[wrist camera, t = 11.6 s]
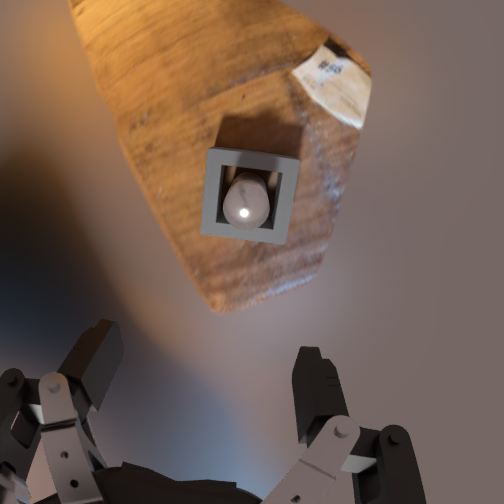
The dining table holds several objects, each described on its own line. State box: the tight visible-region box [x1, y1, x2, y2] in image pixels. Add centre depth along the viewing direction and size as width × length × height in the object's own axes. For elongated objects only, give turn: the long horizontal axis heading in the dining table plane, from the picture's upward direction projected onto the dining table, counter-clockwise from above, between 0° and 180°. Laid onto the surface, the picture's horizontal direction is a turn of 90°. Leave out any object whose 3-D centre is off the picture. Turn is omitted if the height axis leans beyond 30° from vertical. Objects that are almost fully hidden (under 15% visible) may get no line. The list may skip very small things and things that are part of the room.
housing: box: [201, 147, 300, 245], centre depth 29 cm, size 9×9×4 cm
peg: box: [223, 172, 270, 230], centre depth 27 cm, size 4×4×8 cm
